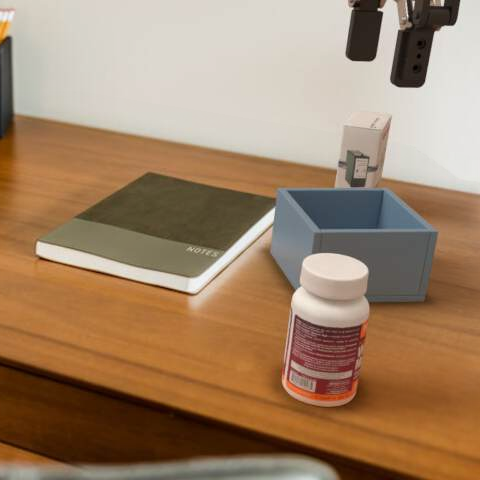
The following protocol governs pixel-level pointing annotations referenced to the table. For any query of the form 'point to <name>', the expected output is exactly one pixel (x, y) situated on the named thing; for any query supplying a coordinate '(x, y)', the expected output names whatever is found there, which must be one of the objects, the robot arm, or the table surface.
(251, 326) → the table surface
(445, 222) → the table surface
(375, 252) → the bin
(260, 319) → the table surface
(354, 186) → the ink box
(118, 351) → the table surface
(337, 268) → the pill bottle
